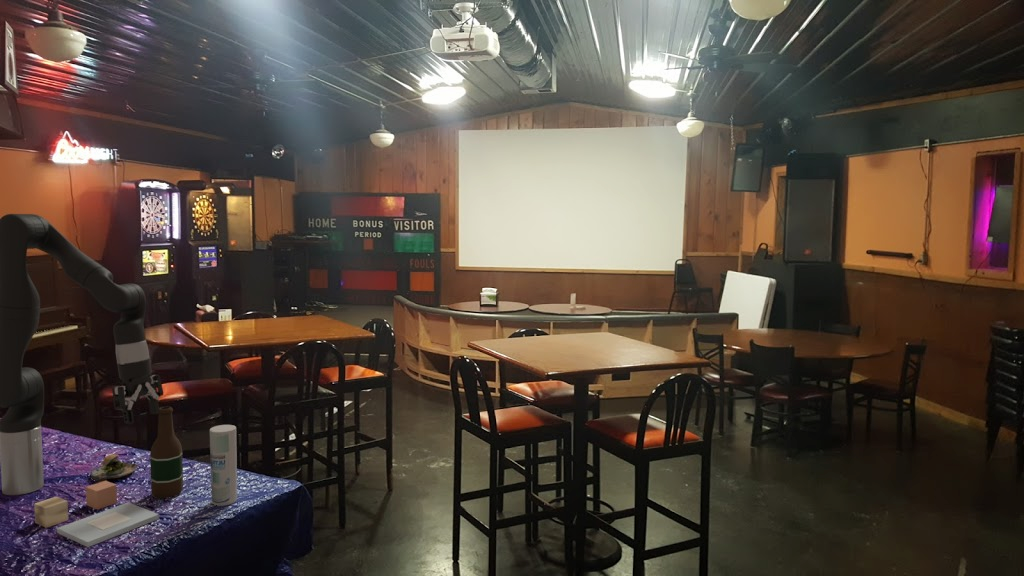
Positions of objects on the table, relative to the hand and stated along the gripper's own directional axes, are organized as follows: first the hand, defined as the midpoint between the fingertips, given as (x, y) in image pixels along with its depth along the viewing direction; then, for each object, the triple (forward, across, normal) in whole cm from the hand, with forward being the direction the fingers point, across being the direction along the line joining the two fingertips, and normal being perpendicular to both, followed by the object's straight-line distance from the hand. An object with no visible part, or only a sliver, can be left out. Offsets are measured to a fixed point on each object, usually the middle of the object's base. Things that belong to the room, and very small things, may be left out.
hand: (142, 418), depth 176 cm
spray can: (+24, -3, +19) cm, 31 cm away
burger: (+20, -10, -22) cm, 31 cm away
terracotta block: (+20, +7, -10) cm, 24 cm away
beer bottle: (+22, -3, +2) cm, 22 cm away
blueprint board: (+22, +17, +2) cm, 28 cm away
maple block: (+20, +19, -13) cm, 30 cm away
